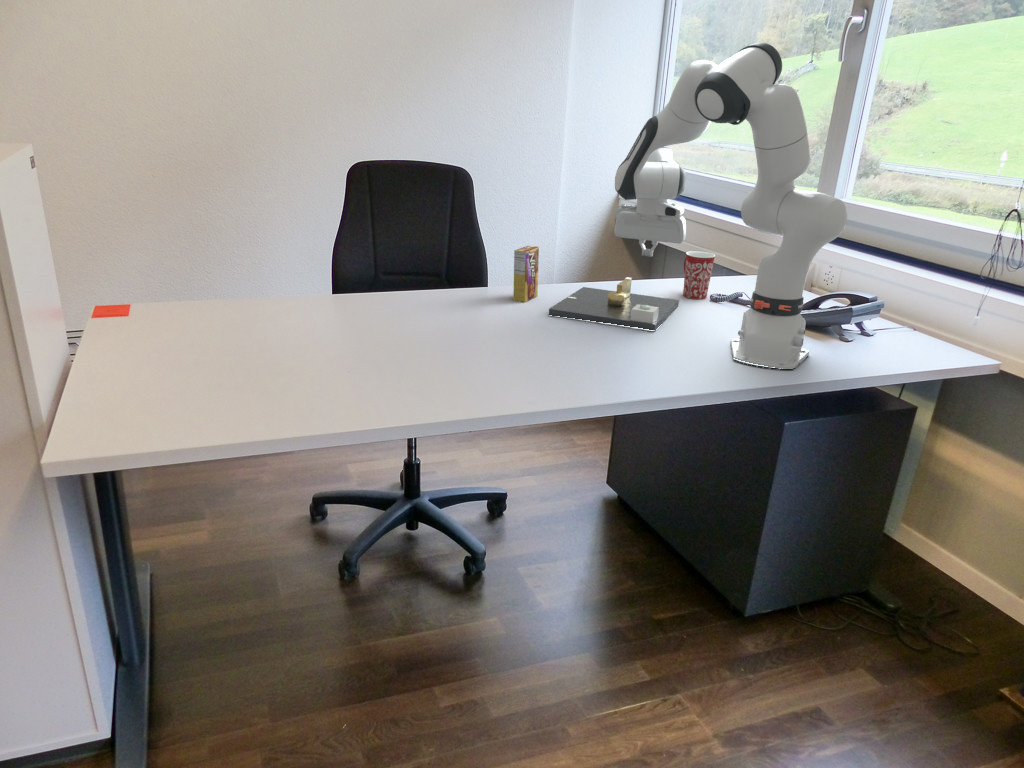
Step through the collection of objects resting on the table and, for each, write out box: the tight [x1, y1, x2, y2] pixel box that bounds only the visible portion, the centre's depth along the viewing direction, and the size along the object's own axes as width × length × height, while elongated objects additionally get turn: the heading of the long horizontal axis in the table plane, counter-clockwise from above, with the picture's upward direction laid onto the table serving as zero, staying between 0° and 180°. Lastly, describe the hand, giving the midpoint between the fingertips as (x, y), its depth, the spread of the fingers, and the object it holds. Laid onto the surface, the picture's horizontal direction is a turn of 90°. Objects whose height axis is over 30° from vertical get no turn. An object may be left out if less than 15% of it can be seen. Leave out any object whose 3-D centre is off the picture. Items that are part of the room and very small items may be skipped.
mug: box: [682, 250, 716, 300], centre depth 234 cm, size 13×9×14 cm
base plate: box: [548, 286, 680, 331], centre depth 213 cm, size 30×30×6 cm
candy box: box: [512, 245, 540, 303], centre depth 221 cm, size 9×4×15 cm, turn 152°
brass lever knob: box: [608, 276, 633, 306], centre depth 217 cm, size 14×5×5 cm, turn 156°
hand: (647, 255), depth 214 cm, fingers closed
